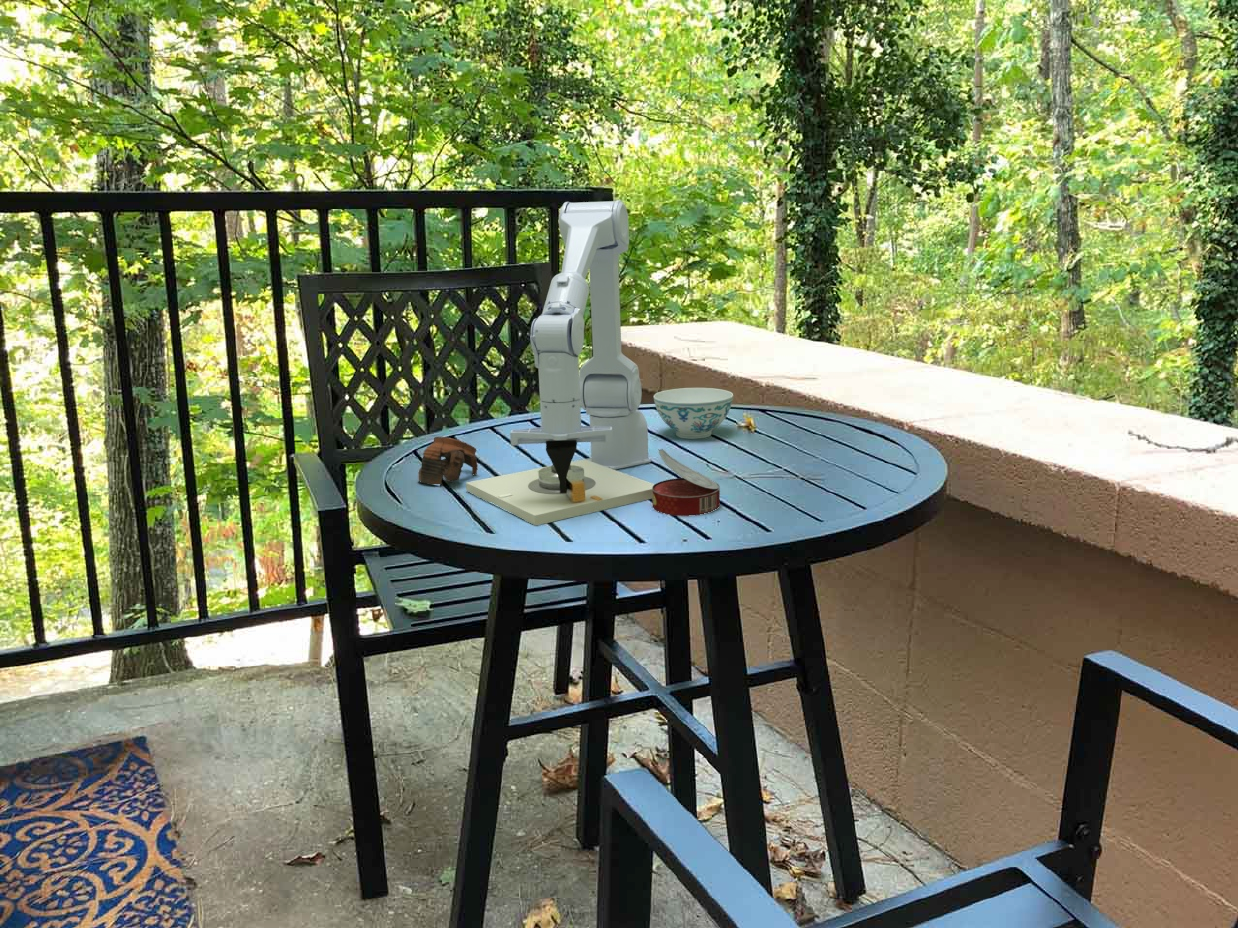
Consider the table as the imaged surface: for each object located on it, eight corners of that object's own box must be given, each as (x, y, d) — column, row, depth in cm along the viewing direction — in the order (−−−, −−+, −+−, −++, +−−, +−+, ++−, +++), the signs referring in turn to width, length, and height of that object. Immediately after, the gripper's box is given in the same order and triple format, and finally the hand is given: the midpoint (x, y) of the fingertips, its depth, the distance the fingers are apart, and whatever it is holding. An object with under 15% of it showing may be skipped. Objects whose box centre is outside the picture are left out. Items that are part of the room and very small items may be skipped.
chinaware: (737, 442, 180) (736, 401, 178) (655, 445, 181) (654, 403, 179) (729, 425, 195) (729, 386, 193) (654, 427, 195) (653, 388, 193)
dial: (534, 480, 154) (533, 462, 153) (577, 475, 156) (577, 458, 155) (555, 504, 141) (554, 485, 140) (602, 498, 143) (602, 480, 142)
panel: (584, 467, 167) (584, 458, 166) (662, 496, 149) (661, 485, 149) (466, 491, 155) (465, 481, 154) (535, 525, 137) (534, 514, 137)
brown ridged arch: (407, 482, 164) (421, 435, 165) (459, 499, 168) (472, 453, 169) (428, 479, 153) (443, 429, 155) (483, 497, 157) (497, 448, 159)
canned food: (673, 526, 150) (685, 463, 152) (728, 531, 144) (740, 465, 145) (628, 509, 142) (641, 442, 144) (684, 513, 135) (697, 443, 137)
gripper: (506, 406, 136) (511, 500, 139) (611, 403, 136) (614, 497, 139) (511, 396, 143) (516, 487, 146) (611, 394, 143) (613, 484, 146)
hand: (564, 491), depth 143 cm, fingers closed, pressing on dial
